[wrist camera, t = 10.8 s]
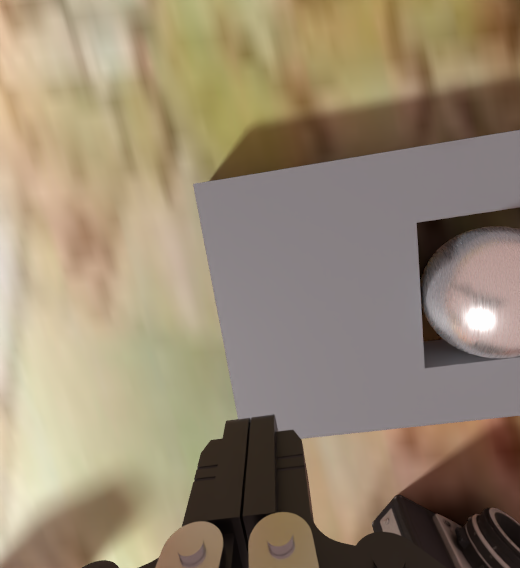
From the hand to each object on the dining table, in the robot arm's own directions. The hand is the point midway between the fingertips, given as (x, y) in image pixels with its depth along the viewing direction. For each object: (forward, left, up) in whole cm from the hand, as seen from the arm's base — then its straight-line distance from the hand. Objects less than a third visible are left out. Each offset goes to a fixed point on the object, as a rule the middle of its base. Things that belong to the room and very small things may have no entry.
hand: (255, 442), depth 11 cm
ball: (+1, +14, -13) cm, 19 cm away
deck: (0, +10, -17) cm, 19 cm away
